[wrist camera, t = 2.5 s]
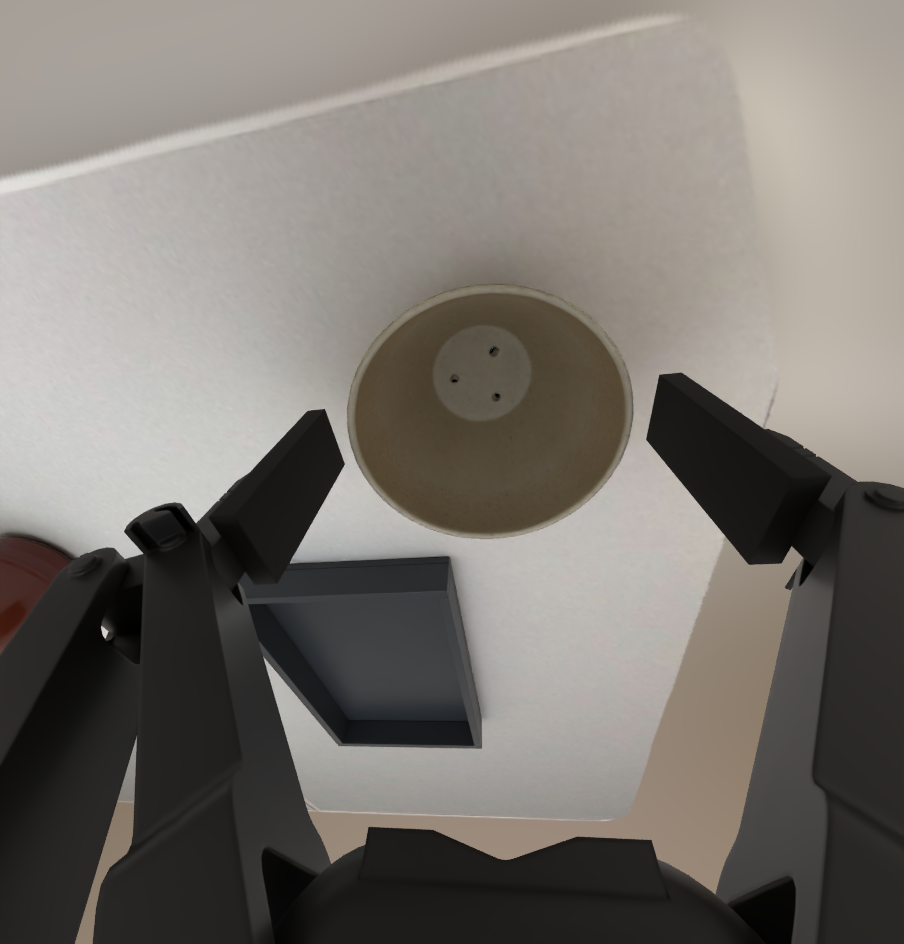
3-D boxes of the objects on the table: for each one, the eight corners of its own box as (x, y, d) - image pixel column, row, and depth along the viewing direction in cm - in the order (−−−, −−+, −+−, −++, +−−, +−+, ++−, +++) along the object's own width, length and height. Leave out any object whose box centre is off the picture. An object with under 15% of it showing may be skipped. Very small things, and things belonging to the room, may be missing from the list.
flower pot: (482, 481, 22) (484, 571, 17) (351, 376, 19) (295, 444, 13) (621, 369, 18) (693, 439, 12) (484, 203, 14) (490, 188, 8)
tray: (237, 566, 29) (214, 599, 26) (449, 556, 27) (446, 591, 24) (346, 717, 46) (338, 746, 43) (481, 718, 43) (481, 748, 41)
